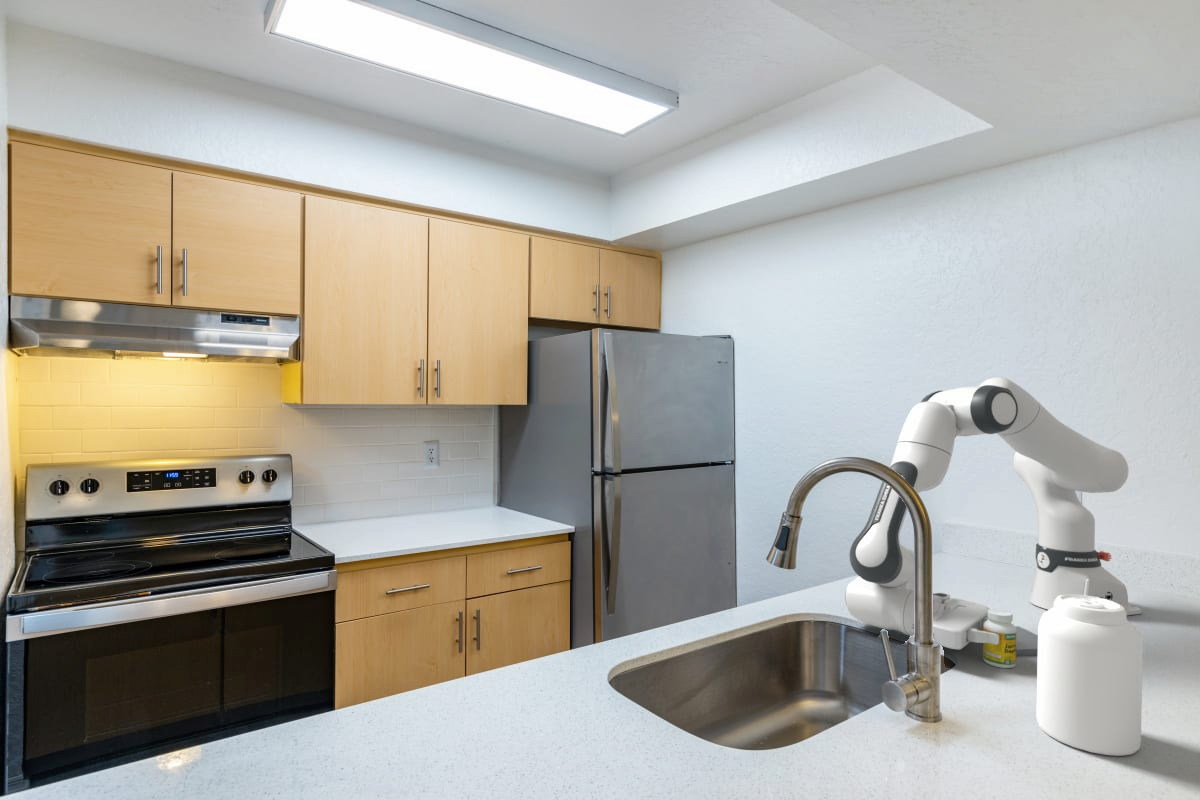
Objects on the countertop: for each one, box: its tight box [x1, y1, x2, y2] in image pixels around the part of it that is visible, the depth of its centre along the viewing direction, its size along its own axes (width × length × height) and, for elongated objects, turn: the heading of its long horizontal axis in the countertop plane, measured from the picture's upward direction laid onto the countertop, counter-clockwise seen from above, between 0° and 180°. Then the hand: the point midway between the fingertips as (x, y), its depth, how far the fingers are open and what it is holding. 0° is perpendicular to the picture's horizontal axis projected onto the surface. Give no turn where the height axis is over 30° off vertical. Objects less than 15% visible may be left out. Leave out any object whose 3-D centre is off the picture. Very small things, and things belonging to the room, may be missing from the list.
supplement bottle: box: [982, 608, 1017, 669], centre depth 126 cm, size 5×5×10 cm
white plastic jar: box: [1035, 594, 1144, 757], centre depth 99 cm, size 12×12×20 cm
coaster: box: [1014, 625, 1038, 657], centre depth 136 cm, size 12×12×1 cm
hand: (1005, 634), depth 125 cm, fingers closed on supplement bottle, 5 cm apart
